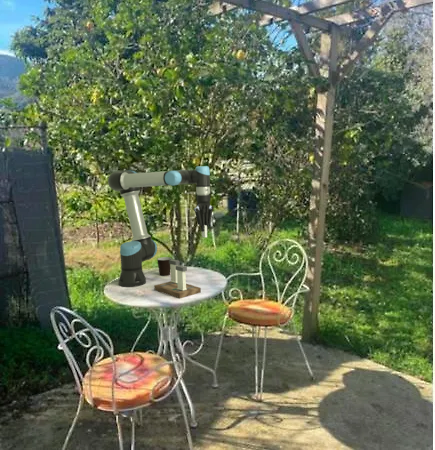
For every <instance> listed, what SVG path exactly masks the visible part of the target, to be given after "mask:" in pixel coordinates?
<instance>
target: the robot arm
mask: <svg viewBox="0 0 435 450" xmlns="http://www.w3.org/2000/svg"><path fill="white" fill-rule="evenodd" d="M210 176H211V173H210V167H209V165H208V166H207V165H203V166H199V165H198V166H196V167H195V169H180V170H178V169H177V170H168V171H167V170H166V171H152V172H151V171H150V172H136V171H134V170H131V169H130V170H129V169H128V170H115V171H113V172H111V173H110V175H109V176H108V177H107V178H108V179H107V183H108V187H109V188H110V189H111V190H113V191H114V192H119V194H120V196H121V197H122V198H123V199H124V204H125V208H126V213H127V216H128V221H129V224H130V230H131V233H132V239H131V241H126V242H124V243H122V244H121V245H120V247H119V248H120V250H119V254H120V269H121V270H120V276H119V278H118V285H119V286H120V287H126V288H134V287H140V286H143V285H145V284H146V283H147V279H146V276H145V273H144V271H143V262H145V261H149V260H151V259H153V258H154V257H155V256H156V255H157V252H158V246H157V243H156V241H154V240H153V239H152V235H150V234H149V233H148V229H147V224H146V222H145V217H144V213H143V208H142V204H141V201H140V197H139V193H141V191H140V190H141V189H140V188H144V187H146V188H147V187H159V186H161V187H163V186H173V187H174V186H177V185H178V186H179V185H187V184H190V185H191V184H192V185H193V184H194V185H195V186H196V187H195V188H196V189H195V190H196V207H193V211H194V213H195V217H196V222H197V225H199V226H200V232H201V238H208V231H209V227H208V226H209V225H210V224H211V222H212V215H213V211H214V208H215V207H214V206H212V205H211V195H210V194H211V177H210Z"/></svg>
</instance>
